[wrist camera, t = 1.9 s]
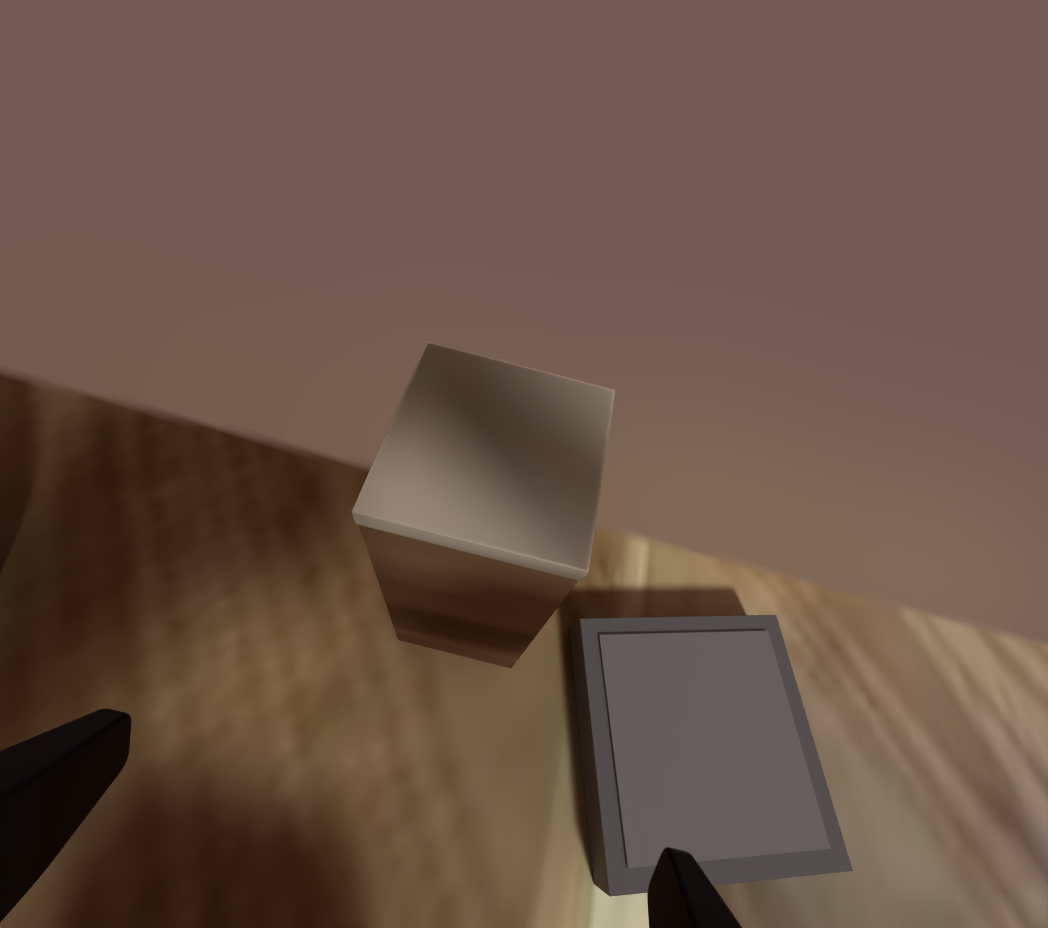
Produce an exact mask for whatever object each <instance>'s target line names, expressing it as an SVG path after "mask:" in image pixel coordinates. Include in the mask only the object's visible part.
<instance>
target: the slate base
mask: <svg viewBox="0 0 1048 928" xmlns="http://www.w3.org/2000/svg"><path fill="white" fill-rule="evenodd" d="M570 639H571V649H572V660H573V670H574V681H575V691H576V702H577V712H578V723H579V733H580V744H581V754H582V765H583V775H584V786H585V796H586V807H587V817H588V828H589V838H590V849H591V859H592V870H593V880H594V884H595V885H596V886H597V887H598V888H600V889H601V890H602V891H603V892H605V893H606V894H607V895H609V896H619V895H628V894H638V893H647V892H648V887H649V883H650V880H651V877H652V875H653V872H654V870H655V867H656V865H657V862H658V860H659V858H660V855H661V853H662V851H663V849H665V848H666V847H671V848H675V849H679V850H683V851H687V852H689V853H690V854H691V855H692V856H693V857H694V858H695V860H696V861H697V863H698V864H699V866H700V867H701V869H702V870H703V872H704V873H705V874H706V876H707V877H708V879H709V880H710V882H711V883H712V885H723V884H732V883H742V882H751V881H760V880H770V879H779V878H789V877H798V876H808V875H817V874H827V873H836V872H846V871H853V870H852V867H851V864H850V860H849V857H848V854H847V850H846V847H845V844H844V840H843V837H842V834H841V830H840V827H839V824H838V820H837V817H836V813H835V810H834V807H833V803H832V800H831V797H830V793H829V790H828V787H827V783H826V780H825V777H824V773H823V770H822V767H821V763H820V760H819V757H818V753H817V750H816V747H815V743H814V740H813V737H812V733H811V730H810V727H809V723H808V720H807V717H806V713H805V710H804V707H803V703H802V700H801V697H800V693H799V690H798V687H797V683H796V680H795V677H794V673H793V670H792V667H791V663H790V660H789V657H788V653H787V650H786V647H785V643H784V640H783V637H782V633H781V630H780V627H779V623H778V620H777V617H776V615H747V616H694V617H642V618H589V619H579V620H578V621H577V622H576V623H575V624H574V625H573V626H572V627H571V628H570Z"/></svg>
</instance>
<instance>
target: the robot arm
mask: <svg viewBox="0 0 1048 928" xmlns="http://www.w3.org/2000/svg"><path fill="white" fill-rule="evenodd" d="M130 734H131V717H130V715H129V714H127V713H124V712H120V711H116V710H112V709H101V710H98V711H95V712H93V713H90V714H88V715H86V716H83V717H81V718H78V719H76V720H74V721H71V722H69V723H66V724H64V725H62V726H59V727H57V728H54V729H52V730H50V731H47V732H45V733H42V734H40V735H38V736H35V737H33V738H30V739H28V740H26V741H23V742H21V743H18V744H16V745H14V746H11V747H9V748H6V749H4V750H2V751H0V922H1V921H2V920H3V919H4V917H5V916H6V915H7V914H8V913H9V912H10V911H11V909H12V908H13V907H14V906H15V905H16V904H17V903H18V902H19V900H20V899H21V898H22V897H23V896H24V895H25V894H26V892H27V891H28V890H29V889H30V888H31V887H32V885H33V884H34V883H35V882H36V881H37V880H38V878H39V877H40V876H41V875H42V874H43V872H44V871H45V870H46V869H47V867H48V866H49V865H50V864H51V862H52V861H53V860H54V859H55V857H56V856H57V855H58V853H59V852H60V851H61V849H62V848H63V847H64V845H65V844H66V843H67V841H68V840H69V839H70V837H71V836H72V835H73V834H74V832H75V831H76V830H77V828H78V827H79V826H80V824H81V823H82V822H83V820H84V819H85V818H86V816H87V815H88V814H89V812H90V811H91V810H92V809H93V807H94V806H95V805H96V803H97V802H98V801H99V799H100V798H101V797H102V795H103V794H104V793H105V791H106V790H107V789H108V787H109V786H110V785H111V783H112V782H113V781H114V780H115V778H116V777H117V776H118V774H119V773H120V772H121V770H122V769H123V767H124V765H125V763H126V761H127V758H128V755H129V747H130ZM648 914H649V928H742V927H741V925H740V924H739V922H738V921H737V920H736V918H735V917H734V915H733V914H732V912H731V911H730V909H729V908H728V906H727V905H726V904H725V902H724V901H723V899H722V898H721V896H720V895H719V893H718V892H717V890H716V889H715V888H714V886H713V885H712V883H711V882H710V880H709V879H708V877H707V876H706V874H705V873H704V872H703V870H702V869H701V867H700V866H699V864H698V863H697V861H696V860H695V858H694V857H693V856H692V855H691V854H690V853H689V852H687V851H683V850H679V849H675V848H671V847H666V848H665V849H663V851H662V853H661V855H660V858H659V860H658V862H657V865H656V867H655V870H654V872H653V875H652V877H651V880H650V883H649V887H648Z"/></svg>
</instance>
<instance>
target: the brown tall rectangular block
mask: <svg viewBox="0 0 1048 928" xmlns="http://www.w3.org/2000/svg"><path fill="white" fill-rule="evenodd" d="M614 394H615V390H612V389H609V388H605V387H601V386H597V385H593V384H589V383H586V382H582V381H578V380H574V379H570V378H566V377H562V376H559V375H555V374H551V373H547V372H544V371H540V370H536V369H532V368H528V367H524V366H520V365H516V364H513V363H509V362H505V361H501V360H497V359H494V358H490V357H486V356H482V355H478V354H475V353H471V352H467V351H463V350H459V349H455V348H452V347H448V346H444V345H439V344H436V343H432V342H429V341H427V342H426V344H425V346H424V348H423V350H422V353H421V355H420V357H419V360H418V362H417V364H416V367H415V369H414V371H413V373H412V376H411V378H410V380H409V382H408V385H407V387H406V389H405V392H404V394H403V396H402V398H401V401H400V403H399V405H398V407H397V410H396V412H395V414H394V417H393V419H392V421H391V423H390V426H389V428H388V430H387V432H386V435H385V437H384V439H383V442H382V444H381V446H380V448H379V451H378V453H377V455H376V458H375V460H374V462H373V464H372V467H371V469H370V471H369V473H368V476H367V478H366V480H365V483H364V485H363V487H362V489H361V492H360V494H359V496H358V499H357V501H356V503H355V505H354V508H353V510H352V515H353V518H354V521H355V524H358V525H360V528H361V531H362V534H363V537H364V540H365V543H366V546H367V549H368V552H369V555H370V558H371V561H372V564H373V567H374V570H375V572H376V575H377V578H378V581H379V584H380V587H381V590H382V593H383V596H384V599H385V602H386V605H387V608H388V611H389V614H390V617H391V620H392V623H393V626H394V629H395V632H396V635H397V638H398V640H401V641H405V642H409V643H413V644H417V645H421V646H425V647H429V648H433V649H437V650H441V651H445V652H449V653H452V654H456V655H460V656H464V657H468V658H472V659H476V660H480V661H484V662H488V663H492V664H496V665H500V666H504V667H508V668H512V666H513V665H514V664H515V663H516V661H517V660H518V659H519V657H520V656H521V655H522V653H523V652H524V651H525V649H526V648H527V647H528V646H529V644H530V643H531V642H532V640H533V639H534V638H535V636H536V635H537V634H538V632H539V631H540V630H541V629H542V627H543V626H544V625H545V623H546V622H547V621H548V619H549V618H550V617H551V615H552V614H553V613H554V611H555V610H556V609H557V608H558V606H559V605H560V604H561V602H562V601H563V600H564V598H565V597H566V596H567V594H568V593H569V592H570V591H571V589H572V588H573V587H574V585H575V584H576V583H577V581H582V580H583V579H584V578H585V576H586V575H587V574H588V572H589V565H590V558H591V551H592V544H593V538H594V531H595V524H596V517H597V510H598V504H599V497H600V489H601V483H602V476H603V470H604V463H605V456H606V449H607V442H608V436H609V429H610V422H611V415H612V408H613V402H614Z"/></svg>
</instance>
